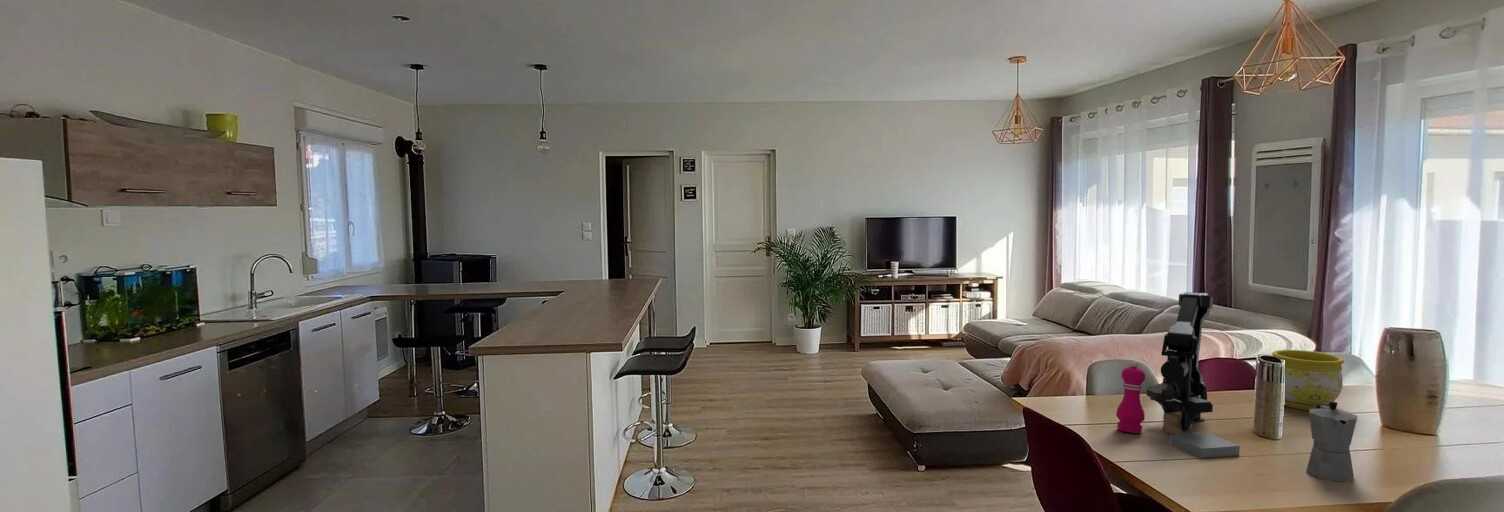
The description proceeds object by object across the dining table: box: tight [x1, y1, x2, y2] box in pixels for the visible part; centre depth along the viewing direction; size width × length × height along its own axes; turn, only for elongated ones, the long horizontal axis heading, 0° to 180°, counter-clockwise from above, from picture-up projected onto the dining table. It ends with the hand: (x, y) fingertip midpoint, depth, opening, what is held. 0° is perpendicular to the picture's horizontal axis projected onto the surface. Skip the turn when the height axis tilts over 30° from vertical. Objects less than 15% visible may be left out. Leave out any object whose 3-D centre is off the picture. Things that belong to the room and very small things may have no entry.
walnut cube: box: [1162, 412, 1193, 435], centre depth 200 cm, size 5×5×5 cm
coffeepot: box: [1305, 401, 1358, 483], centre depth 168 cm, size 15×9×18 cm, turn 159°
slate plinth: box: [1169, 431, 1241, 459], centre depth 186 cm, size 11×11×2 cm
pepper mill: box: [1115, 360, 1146, 434], centre depth 201 cm, size 7×7×20 cm
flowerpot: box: [1271, 349, 1345, 411], centre depth 224 cm, size 18×18×16 cm
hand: (1177, 428), depth 201 cm, fingers closed on walnut cube, 5 cm apart
